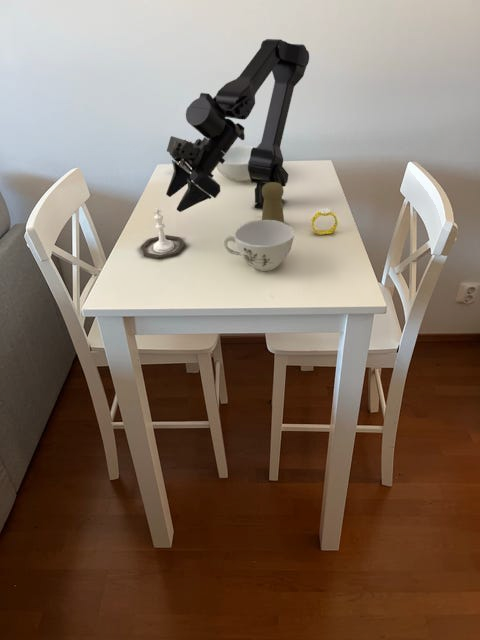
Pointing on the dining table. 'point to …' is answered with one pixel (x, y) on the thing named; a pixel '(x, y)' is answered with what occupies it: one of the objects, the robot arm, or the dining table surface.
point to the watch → (324, 213)
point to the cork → (272, 202)
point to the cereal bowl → (236, 163)
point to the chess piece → (161, 235)
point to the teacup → (262, 243)
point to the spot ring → (162, 254)
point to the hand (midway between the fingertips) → (172, 203)
